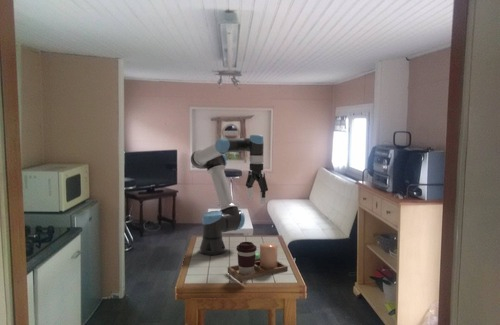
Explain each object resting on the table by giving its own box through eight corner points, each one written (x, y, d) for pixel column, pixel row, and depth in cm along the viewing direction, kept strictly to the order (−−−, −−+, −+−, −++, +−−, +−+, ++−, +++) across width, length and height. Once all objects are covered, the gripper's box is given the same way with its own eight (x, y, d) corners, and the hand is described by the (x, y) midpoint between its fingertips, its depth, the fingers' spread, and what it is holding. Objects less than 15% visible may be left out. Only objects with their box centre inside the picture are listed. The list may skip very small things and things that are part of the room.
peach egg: (256, 266, 200) (256, 244, 199) (271, 263, 204) (271, 241, 203) (265, 272, 192) (265, 249, 191) (280, 269, 197) (281, 246, 195)
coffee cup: (239, 277, 186) (239, 247, 184) (234, 270, 195) (234, 241, 194) (258, 275, 188) (258, 245, 187) (253, 268, 198) (253, 239, 196)
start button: (249, 259, 209) (249, 253, 209) (256, 257, 211) (256, 252, 211) (253, 261, 205) (253, 256, 205) (261, 260, 207) (261, 254, 207)
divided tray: (227, 273, 195) (227, 266, 194) (272, 263, 208) (272, 258, 208) (240, 282, 183) (240, 276, 182) (287, 272, 196) (287, 266, 195)
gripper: (239, 161, 219) (239, 198, 221) (262, 165, 198) (262, 206, 200) (251, 161, 223) (251, 197, 225) (274, 164, 201) (274, 204, 203)
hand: (256, 201), depth 212 cm, fingers open, 13 cm apart
